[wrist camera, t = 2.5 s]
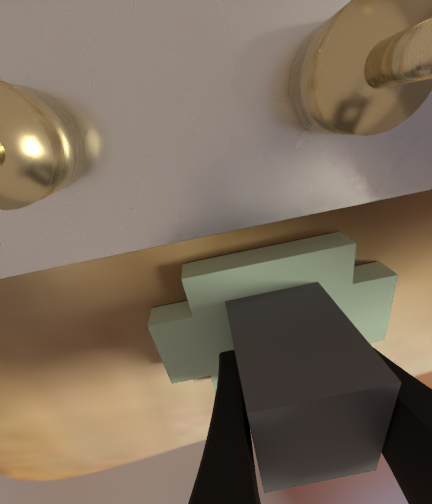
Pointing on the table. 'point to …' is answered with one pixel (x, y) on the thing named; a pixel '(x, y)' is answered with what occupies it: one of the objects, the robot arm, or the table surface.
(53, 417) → the table surface
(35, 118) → the plate
